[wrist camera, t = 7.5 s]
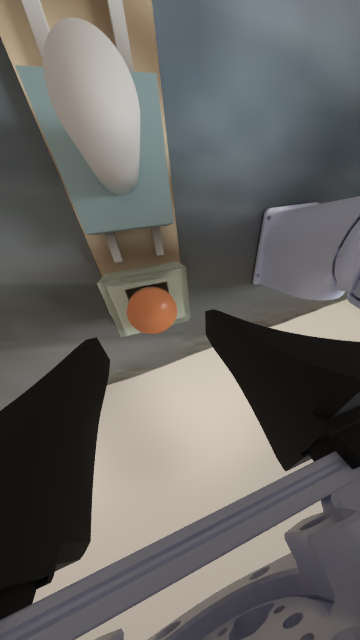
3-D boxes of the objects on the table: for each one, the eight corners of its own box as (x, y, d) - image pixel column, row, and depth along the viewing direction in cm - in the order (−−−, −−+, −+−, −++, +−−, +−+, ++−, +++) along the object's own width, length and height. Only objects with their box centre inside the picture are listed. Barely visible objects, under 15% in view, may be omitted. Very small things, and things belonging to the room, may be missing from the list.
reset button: (171, 309, 17) (179, 327, 14) (136, 317, 16) (135, 338, 13) (165, 274, 15) (173, 284, 11) (123, 281, 14) (119, 295, 11)
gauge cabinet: (179, 303, 20) (190, 319, 16) (121, 316, 19) (117, 338, 15) (174, 260, 17) (186, 266, 13) (103, 272, 16) (91, 284, 11)
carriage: (167, 225, 14) (194, 213, 7) (94, 235, 13) (50, 230, 6) (152, 110, 10) (178, -121, 4) (46, 109, 9) (-195, -232, 2)
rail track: (183, 308, 21) (189, 316, 19) (123, 322, 19) (121, 333, 17) (115, -274, 6) (103, -581, 4) (-177, -404, 4) (-494, -1053, 2)
